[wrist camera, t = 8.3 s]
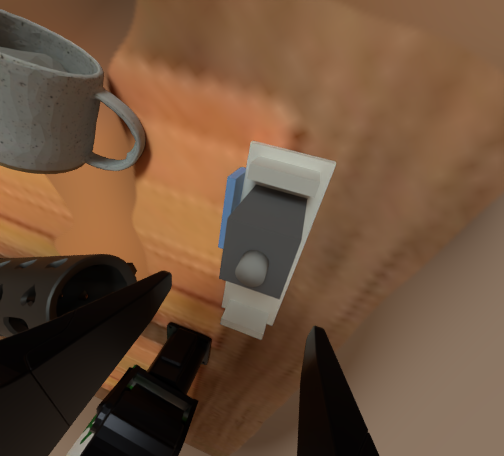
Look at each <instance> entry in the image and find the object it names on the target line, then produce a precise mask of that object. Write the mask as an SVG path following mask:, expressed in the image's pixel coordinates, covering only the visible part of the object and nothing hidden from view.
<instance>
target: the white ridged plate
mask: <svg viewBox="0 0 504 456" xmlns="http://www.w3.org/2000/svg"><path fill="white" fill-rule="evenodd" d="M335 166H336V162H335V161H331V160H327V159H323V158H319V157H316V156H312V155H308V154H304V153H300V152H296V151H292V150H288V149H284V148H280V147H276V146H273V145H269V144H265V143H261V142H257V141H252V142H251V144H250V150H249V155H248V161H247V167H246V168H244V167H240V168H239V169H238V170H236V171H235V172H234V173H232V174H231V175H229V176H228V178H227V186H226V193H225V201H224V208H223V215H222V223H221V230H220V238H219V245H218V247H219V248H222V249H223V247H224V240H225V233H226V226H227V218H228V217H229V216H230V214H231V213H232V212H233V211H234V210H235V209H236V207H237V206H238V205H239V204H240V203H241V201H242V200H243V199H244V198H245V197H246V196H247V194H248V193H249V192H250V191H251V190H252V189H253V187H254V186H255V185H260V186H264V187H267V188H271V189H275V190H278V191H282V192H285V193H289V194H293V195H296V196H300V197H304V198H307V205H306V212H305V219H304V226H303V233H302V240H301V243H300V246H299V248H298V251H297V254H296V256H295V259H294V262H293V265H292V267H291V270H290V273H289V275H288V278H287V281H286V283H285V286H284V289H283V292H282V294H281V297H280V300H279V299H276V298H274V297H271V296H268V295H265V294H262V293H259V292H256V291H254V290H251V289H248V288H245V287H242V286H239V285H236V284H233V283H231V282H228V281H226V285H225V291H224V296H223V302H222V307H223V308H225V311H224V314H223V316H222V318H221V323H220V324H221V325H224V326H226V327H229V328H232V329H234V330H237V331H239V332H242V333H244V334H247V335H250V336H252V337H255V338H257V339H260V340H262V337H263V335H264V331H265V327H266V324H268V325H271V326H272V325H273V323H274V320H275V318H276V315H277V313H278V310H279V308H280V305H281V303H282V300H283V297H284V295H285V292H286V290H287V287H288V285H289V282H290V280H291V277H292V275H293V272H294V270H295V267H296V265H297V262H298V259H299V257H300V254H301V252H302V249H303V247H304V244H305V242H306V239H307V237H308V234H309V232H310V229H311V227H312V224H313V222H314V219H315V216H316V214H317V211H318V209H319V206H320V204H321V201H322V199H323V196H324V194H325V191H326V189H327V186H328V184H329V181H330V179H331V176H332V173H333V171H334V168H335Z"/></svg>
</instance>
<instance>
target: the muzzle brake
mask: <svg viewBox="0 0 504 456" xmlns="http://www.w3.org/2000/svg"><path fill="white" fill-rule="evenodd" d="M136 272H137V270H136V268H135V267H134V265H133V263H126V262H125V261H124V260H122V259H120V258H119V257H116V256H113V255H107V254H97V255H96V254H95V255H73V256H50V257H28V258H6V259H3V258H0V336H5V337H9V336H12V335H15V334H17V333H20V332H23V331H25V330H28V329H30V328H33V327H35V326H38V325H41V324H43V323H46V322H48V321H50V320H53V319H55V318H57V317H60V316H62V315H64V314H66V313H69V312H71V311H73V310H77V309H78V308H80V307H82V306H84V305H87V304H89V303H91V302H93V301H95V300H98V299H100V298H102V297H104V296H107V295H109V294H111V293H113V292H115V291H118V290H120V289H122V288H124V287H127V286H129V285H131V284H133V283H135V282H137V280H136V277H135V274H136ZM62 294H63V297H62ZM87 294H88V298H87V299H85V298H86V295H87Z"/></svg>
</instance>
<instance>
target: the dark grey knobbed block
mask: <svg viewBox="0 0 504 456" xmlns="http://www.w3.org/2000/svg"><path fill="white" fill-rule="evenodd" d="M306 205H307V198H304V197H300V196H296V195H293V194H289V193H285V192H282V191H278V190H275V189H271V188H267V187H264V186H260V185H255V186H254V187H253V189H252V190H251V191H250V192H249V193H248V194H247V196H246V197H245V198H244V199H243V200H242V201H241V203H240V204H239V205H238V206H237V207H236V209H235V210H234V211H233V212H232V213H231V214H230V216H229V217H228V218H227V226H226V233H225V240H224V247H223V254H222V261H221V268H220V276H219V279H222V280H225V281H228V282H231V283H233V284H236V285H239V286H242V287H245V288H248V289H251V290H254V291H256V292H259V293H262V294H265V295H268V296H271V297H274V298H276V299H279V300H280V297H281V294H282V292H283V289H284V286H285V283H286V281H287V278H288V275H289V273H290V270H291V267H292V265H293V262H294V259H295V256H296V254H297V251H298V248H299V246H300V243H301V240H302V233H303V226H304V219H305V212H306Z"/></svg>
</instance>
